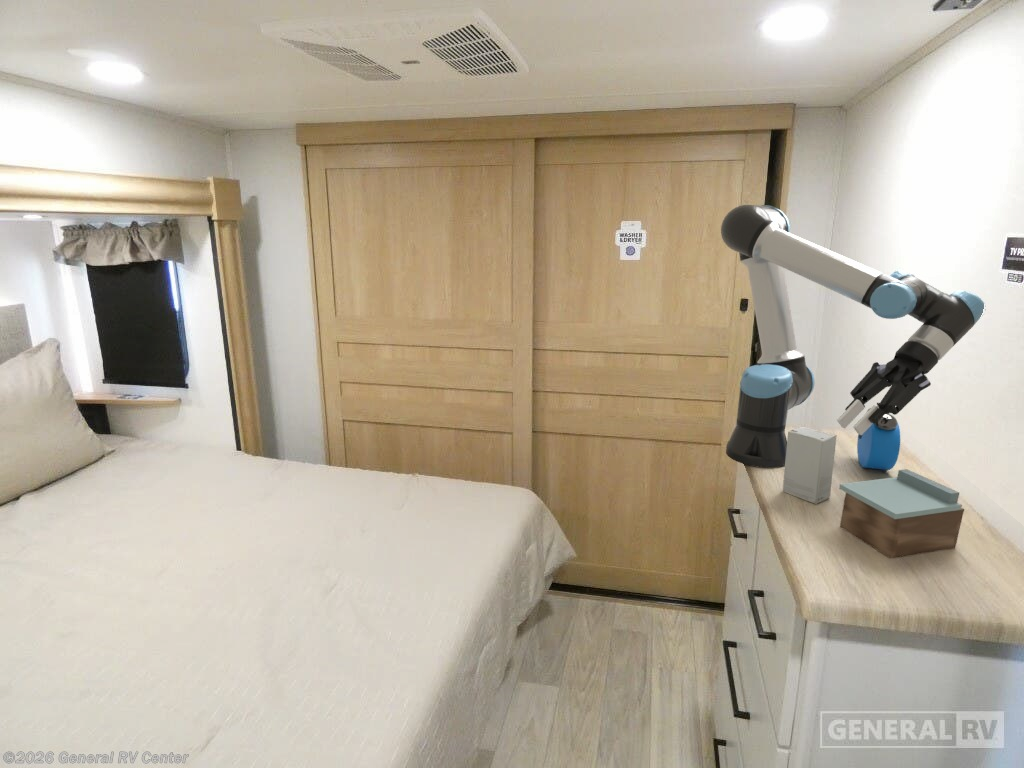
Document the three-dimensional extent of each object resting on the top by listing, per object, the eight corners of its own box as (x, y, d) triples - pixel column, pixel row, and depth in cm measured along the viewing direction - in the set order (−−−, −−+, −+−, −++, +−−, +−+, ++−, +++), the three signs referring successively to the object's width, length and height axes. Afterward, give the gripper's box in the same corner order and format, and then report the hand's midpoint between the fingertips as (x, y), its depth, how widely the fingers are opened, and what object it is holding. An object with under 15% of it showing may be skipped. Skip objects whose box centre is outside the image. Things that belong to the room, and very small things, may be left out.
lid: (839, 488, 116) (841, 474, 116) (900, 481, 120) (902, 467, 119) (894, 519, 105) (898, 503, 104) (960, 509, 108) (964, 494, 108)
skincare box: (830, 498, 131) (840, 435, 127) (814, 505, 128) (824, 440, 124) (794, 485, 138) (803, 424, 134) (779, 491, 134) (787, 429, 130)
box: (839, 526, 119) (846, 490, 117) (899, 518, 122) (906, 482, 120) (890, 558, 107) (898, 518, 105) (955, 548, 111) (964, 509, 109)
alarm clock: (894, 479, 141) (906, 419, 137) (865, 476, 143) (876, 416, 139) (879, 459, 153) (889, 403, 149) (852, 456, 155) (862, 401, 151)
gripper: (966, 371, 124) (888, 451, 124) (896, 354, 140) (828, 425, 140) (952, 347, 121) (872, 430, 122) (882, 332, 137) (812, 405, 137)
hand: (848, 427), depth 131 cm, fingers open, 4 cm apart
